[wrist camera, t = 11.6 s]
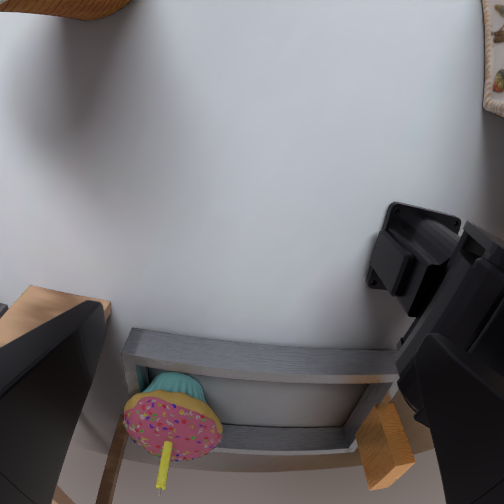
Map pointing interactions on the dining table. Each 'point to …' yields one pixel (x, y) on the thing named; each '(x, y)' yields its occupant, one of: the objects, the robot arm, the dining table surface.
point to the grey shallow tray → (292, 371)
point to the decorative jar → (494, 56)
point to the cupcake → (172, 421)
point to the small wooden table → (29, 317)
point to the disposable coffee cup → (65, 7)
